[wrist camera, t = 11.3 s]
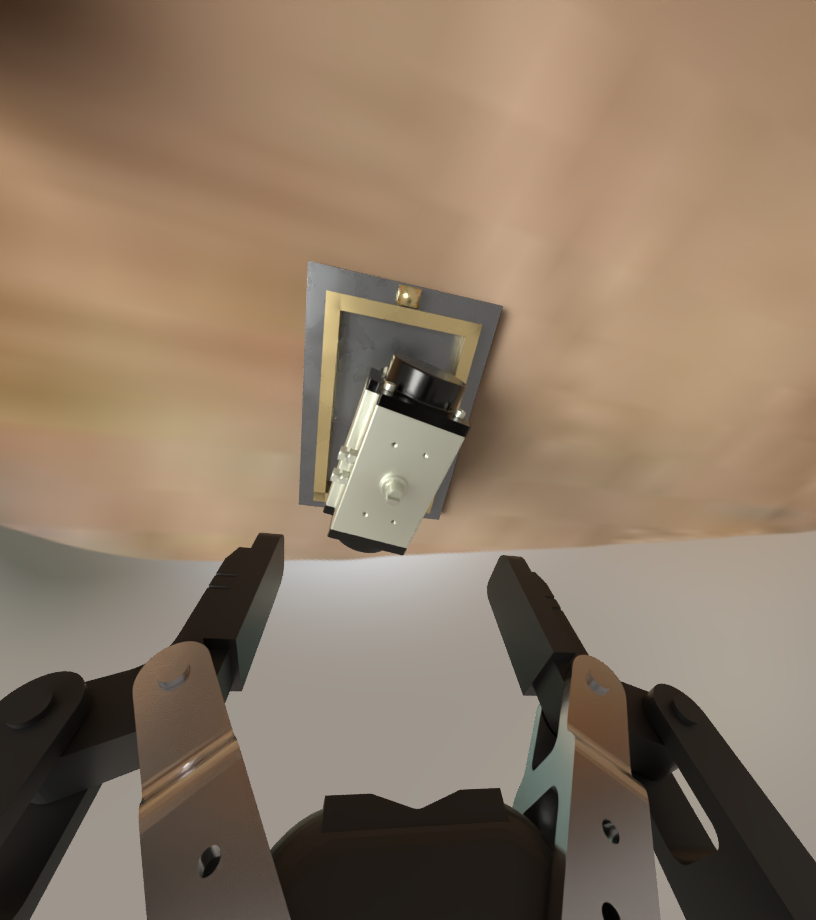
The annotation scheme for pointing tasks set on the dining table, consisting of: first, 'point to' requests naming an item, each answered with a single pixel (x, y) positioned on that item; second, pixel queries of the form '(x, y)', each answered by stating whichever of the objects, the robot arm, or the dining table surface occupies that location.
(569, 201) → the dining table surface
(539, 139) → the dining table surface
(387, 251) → the dining table surface
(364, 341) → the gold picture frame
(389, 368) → the pneumatic valve
